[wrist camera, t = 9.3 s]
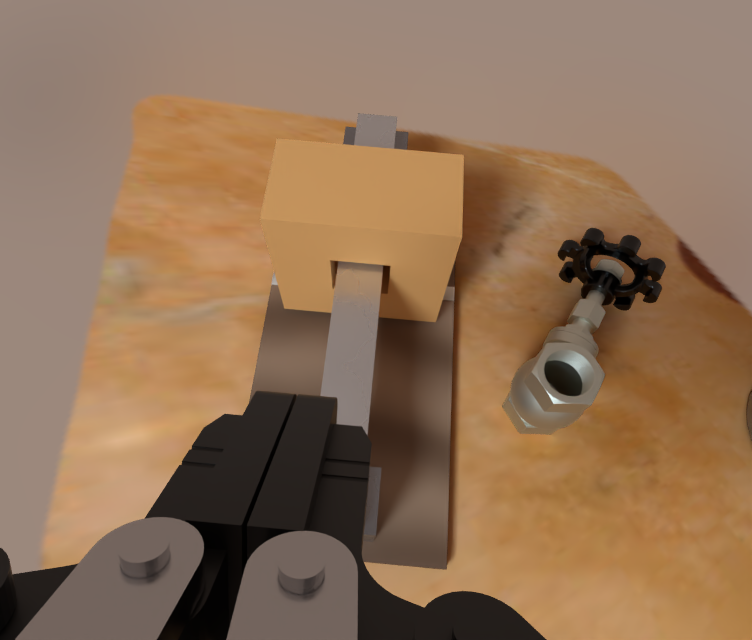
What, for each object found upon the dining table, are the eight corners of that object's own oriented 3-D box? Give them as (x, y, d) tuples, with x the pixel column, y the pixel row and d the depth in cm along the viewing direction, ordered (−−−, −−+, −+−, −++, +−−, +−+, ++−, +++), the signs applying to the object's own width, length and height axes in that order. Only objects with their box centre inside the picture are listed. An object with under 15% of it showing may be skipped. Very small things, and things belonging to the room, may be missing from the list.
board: (443, 569, 30) (446, 569, 29) (225, 548, 30) (220, 547, 29) (455, 188, 41) (457, 179, 40) (295, 174, 41) (294, 164, 40)
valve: (567, 465, 32) (636, 312, 37) (615, 441, 26) (690, 262, 31) (469, 408, 34) (547, 267, 38) (493, 372, 28) (582, 210, 32)
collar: (435, 322, 34) (462, 236, 26) (284, 308, 34) (259, 218, 26) (438, 254, 36) (464, 154, 28) (296, 242, 36) (276, 138, 28)
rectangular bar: (373, 541, 29) (377, 533, 23) (298, 534, 29) (283, 524, 23) (402, 186, 39) (409, 116, 33) (347, 181, 39) (345, 110, 33)
